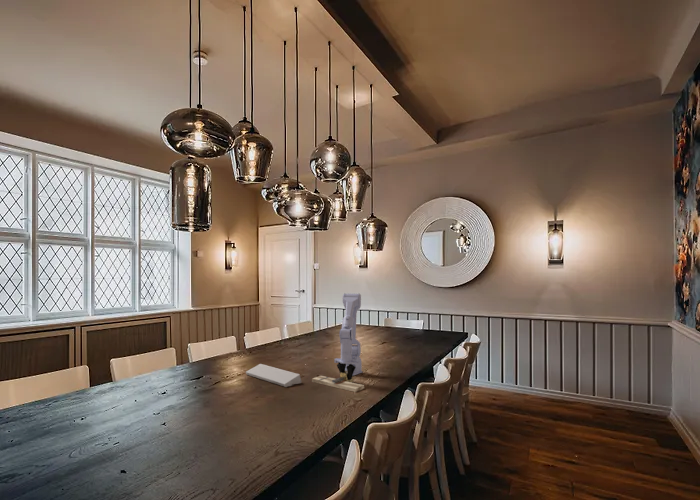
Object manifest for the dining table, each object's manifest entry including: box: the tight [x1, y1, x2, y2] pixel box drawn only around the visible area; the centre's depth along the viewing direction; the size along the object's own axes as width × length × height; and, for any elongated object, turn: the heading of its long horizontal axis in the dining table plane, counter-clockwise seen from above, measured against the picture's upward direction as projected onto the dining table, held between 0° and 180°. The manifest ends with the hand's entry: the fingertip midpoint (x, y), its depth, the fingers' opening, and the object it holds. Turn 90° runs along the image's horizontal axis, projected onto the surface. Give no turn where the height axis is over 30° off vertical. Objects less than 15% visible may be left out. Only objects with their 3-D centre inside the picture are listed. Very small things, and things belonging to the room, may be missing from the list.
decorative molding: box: [245, 363, 302, 388], centre depth 198 cm, size 34×5×10 cm
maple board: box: [311, 375, 365, 393], centre depth 187 cm, size 7×28×2 cm, turn 52°
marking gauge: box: [332, 370, 353, 383], centre depth 189 cm, size 12×4×5 cm, turn 142°
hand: (346, 378), depth 191 cm, fingers closed on marking gauge, 4 cm apart
